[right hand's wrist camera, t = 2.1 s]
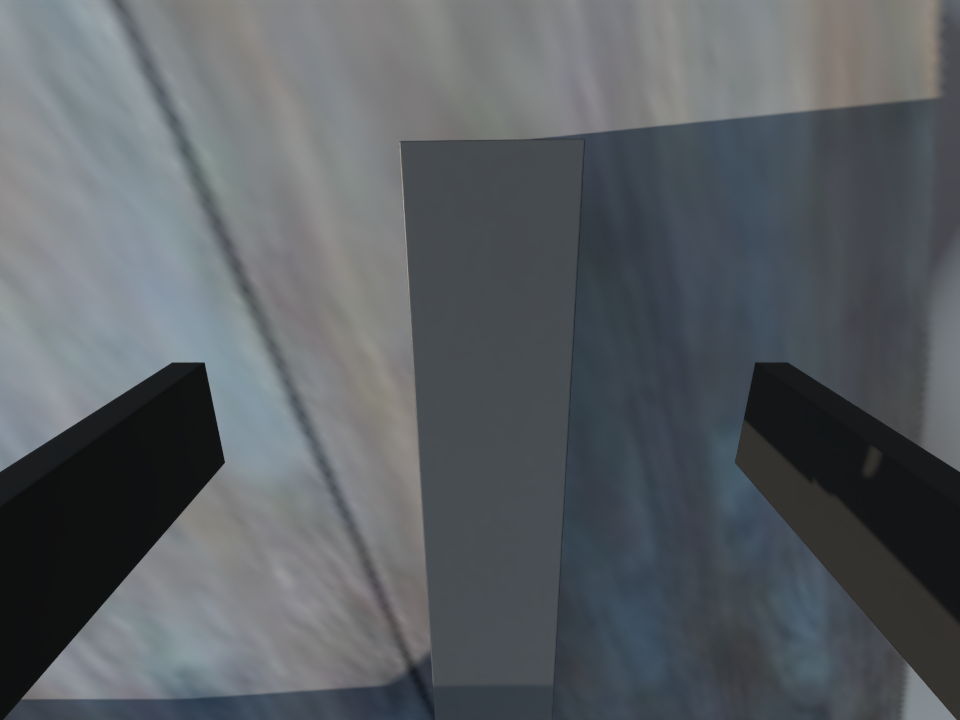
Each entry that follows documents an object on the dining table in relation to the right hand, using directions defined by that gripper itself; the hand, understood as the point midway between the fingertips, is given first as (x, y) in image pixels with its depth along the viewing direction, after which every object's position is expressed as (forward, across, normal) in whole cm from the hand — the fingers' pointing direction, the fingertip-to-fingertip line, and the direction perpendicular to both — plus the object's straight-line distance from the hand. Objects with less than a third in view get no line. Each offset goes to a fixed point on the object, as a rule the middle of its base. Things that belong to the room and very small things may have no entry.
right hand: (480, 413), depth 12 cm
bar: (+14, +1, -32) cm, 35 cm away
